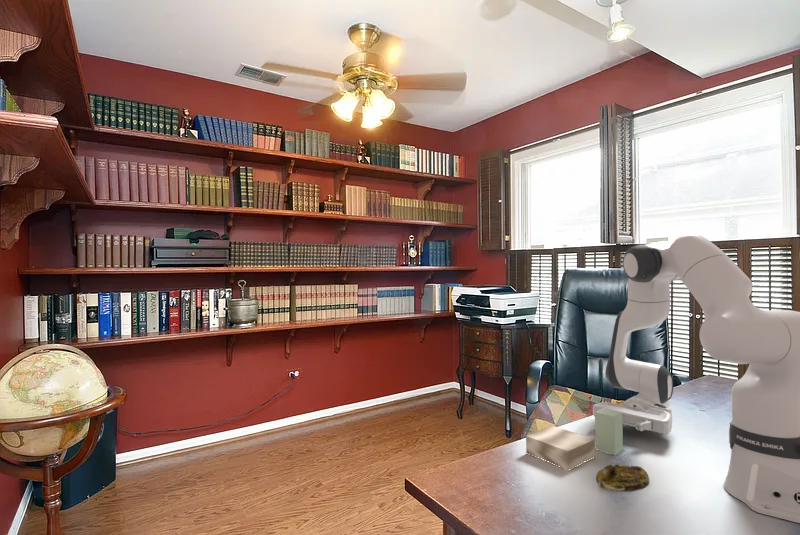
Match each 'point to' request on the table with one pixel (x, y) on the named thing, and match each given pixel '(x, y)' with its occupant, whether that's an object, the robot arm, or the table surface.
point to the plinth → (560, 447)
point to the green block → (609, 431)
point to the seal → (622, 478)
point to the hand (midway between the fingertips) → (620, 423)
